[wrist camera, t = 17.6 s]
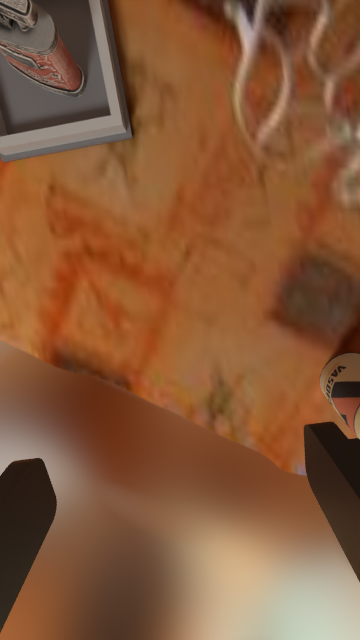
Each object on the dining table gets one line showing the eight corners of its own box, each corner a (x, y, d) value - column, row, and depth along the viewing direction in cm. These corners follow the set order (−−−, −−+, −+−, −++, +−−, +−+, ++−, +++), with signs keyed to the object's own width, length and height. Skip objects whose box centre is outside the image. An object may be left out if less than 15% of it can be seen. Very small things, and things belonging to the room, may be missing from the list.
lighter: (7, 72, 29) (-81, -14, 19) (14, 35, 28) (-74, -75, 18) (81, 105, 30) (32, 37, 20) (90, 69, 29) (43, -19, 19)
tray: (101, -35, 27) (93, -63, 24) (132, 138, 31) (128, 129, 28) (-44, -3, 28) (-66, -26, 25) (4, 162, 32) (-11, 155, 29)
